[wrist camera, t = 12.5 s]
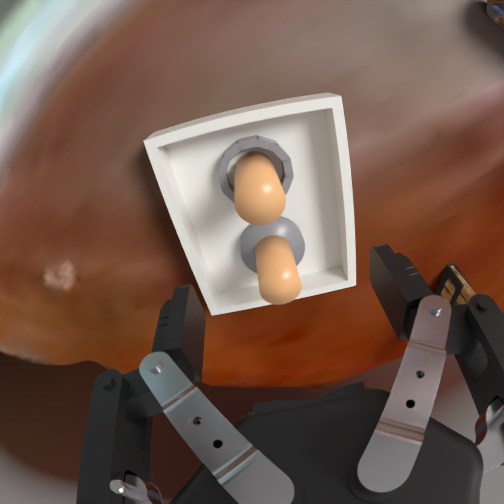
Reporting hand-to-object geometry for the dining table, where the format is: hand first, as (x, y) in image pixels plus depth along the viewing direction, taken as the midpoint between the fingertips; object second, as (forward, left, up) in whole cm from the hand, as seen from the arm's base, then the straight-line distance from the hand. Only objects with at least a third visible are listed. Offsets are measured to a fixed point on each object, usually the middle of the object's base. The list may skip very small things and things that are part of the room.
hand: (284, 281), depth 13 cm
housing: (0, -6, -20) cm, 21 cm away
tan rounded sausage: (0, -1, -19) cm, 19 cm away
